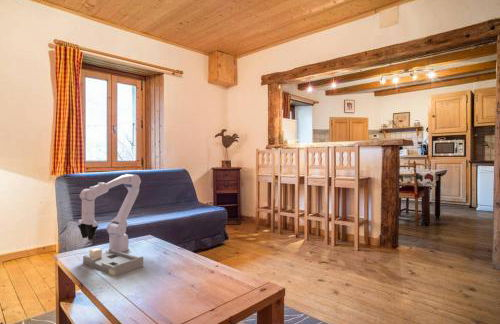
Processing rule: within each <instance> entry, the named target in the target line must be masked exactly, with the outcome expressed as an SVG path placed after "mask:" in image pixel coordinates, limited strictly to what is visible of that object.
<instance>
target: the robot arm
mask: <svg viewBox="0 0 500 324" xmlns="http://www.w3.org/2000/svg"><path fill="white" fill-rule="evenodd" d="M141 183H142V180H141V177H140V176H139V175H138V174H130V173H125V174H122V175H120V176H118V177H116V178H114V179H112V180H110V181H107V182H97V184H96V185H93V186H89V188H84V189H82V190H81V192H80V193H79V198H80V199H81V219H78V225H77V228H78V229H79V231H80V235H81V237H82V239H86V238H87V240H88V241H92V240H94V237H95V234H96V231H97V229H98V228H99V224H98V221H96V220H95V200H96V199H97V198H98V197H99V196H102V195H104V194H106V193H108V192H109V190H110V189H112V188H115V187H117V186H119V185H122V184H123V185H124V187H125V188H126V189H127V191H128V192H127V194H126V196H125V197H124V200H123V202H122V204H121V206H120V208H119V211H118V212H117V215H116V217H114V218H112V220H111V221H110V223H108V224H107V226H106V231H107V233H108V237H109V239H108V240H109V243H108V244H109V246H108V249H107V250H105V253H107V252H109V249H113V250H116V251H119V252H122V253H124V252H126V251H129V250H130V248H129V236H128V234H127V233H126V232H127V226H128V221H127V218H128V217H129V214H130V212H131V210H132V207H133V205H134V204H135V202H136V200H137V197H138V196H139V192H140V185H141Z"/></svg>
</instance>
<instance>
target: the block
mask: <svg viewBox="0 0 500 324" xmlns="http://www.w3.org/2000/svg"><path fill="white" fill-rule="evenodd" d="M102 250H103V249H102V248H99V247H96V248H92V249H89V255H88V257H91V258H94V259H97V258H101V257H102V254H103V253H102Z"/></svg>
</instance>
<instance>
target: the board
mask: <svg viewBox="0 0 500 324" xmlns="http://www.w3.org/2000/svg"><path fill="white" fill-rule="evenodd" d="M108 250H109V252H104V253H102V257H101V258H97V259H94V258H91V257H89V255H83V256H82V259H83V260H82V262H83V264H84V265H87V266H90V267H93V268H95V269H98V270H100V271H102V272H105V273H107V274H110V275H112V276H114V277H116V276H120V275H123V274H125V273H128V272H131V271H134V270H137V269H140V268H143V267H144V256H140V257H138V256H136V255H132V254H128V253H125V252H119V251H116V250H113V249H109V248H108Z"/></svg>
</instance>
